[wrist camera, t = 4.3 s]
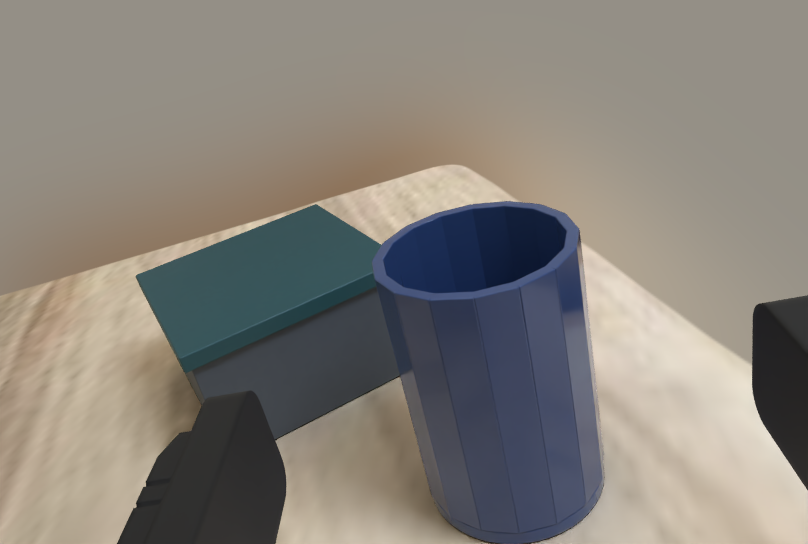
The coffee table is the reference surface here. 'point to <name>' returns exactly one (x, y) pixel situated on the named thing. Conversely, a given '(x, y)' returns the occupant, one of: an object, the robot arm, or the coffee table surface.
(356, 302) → the container
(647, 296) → the coffee table surface
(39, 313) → the coffee table surface
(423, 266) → the cup
